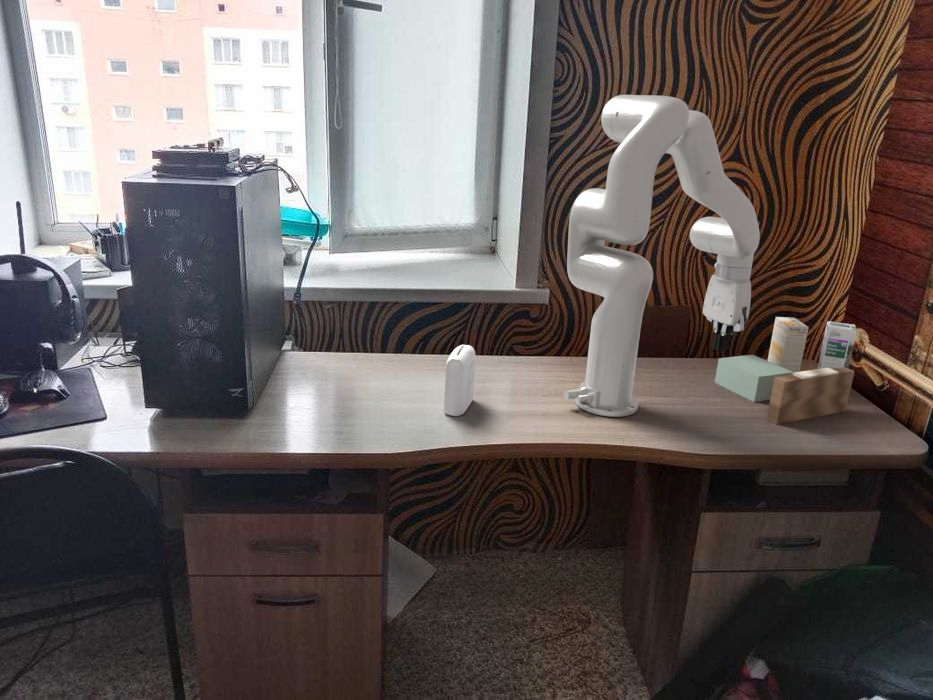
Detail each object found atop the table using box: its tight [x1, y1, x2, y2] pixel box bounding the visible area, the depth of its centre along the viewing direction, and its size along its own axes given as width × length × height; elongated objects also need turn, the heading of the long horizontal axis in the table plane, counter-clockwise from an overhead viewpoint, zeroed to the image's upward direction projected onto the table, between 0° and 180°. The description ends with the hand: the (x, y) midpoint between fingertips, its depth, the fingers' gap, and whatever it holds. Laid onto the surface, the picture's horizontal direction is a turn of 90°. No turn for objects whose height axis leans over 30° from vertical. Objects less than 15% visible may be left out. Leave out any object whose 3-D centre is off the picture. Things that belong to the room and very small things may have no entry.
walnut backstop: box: [766, 367, 855, 425], centre depth 151 cm, size 20×3×9 cm, turn 116°
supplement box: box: [767, 316, 810, 373], centre depth 173 cm, size 8×5×13 cm, turn 179°
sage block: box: [714, 354, 794, 403], centre depth 164 cm, size 10×12×6 cm
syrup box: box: [816, 320, 857, 369], centre depth 168 cm, size 6×6×14 cm
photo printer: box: [443, 344, 477, 417], centre depth 145 cm, size 10×4×12 cm, turn 166°
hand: (720, 349), depth 173 cm, fingers closed
